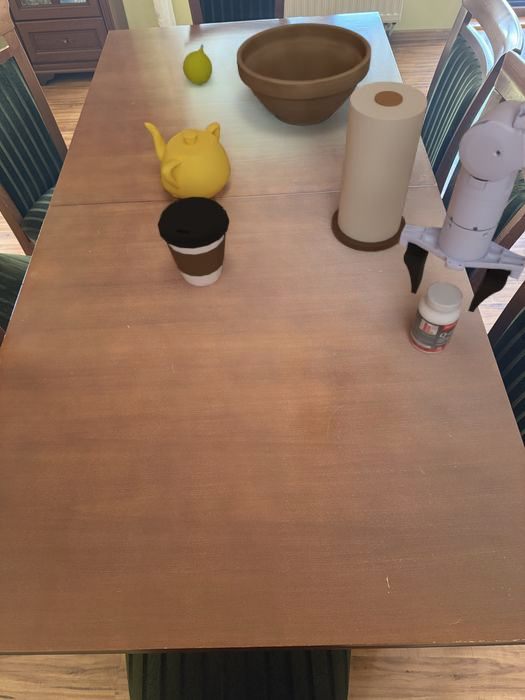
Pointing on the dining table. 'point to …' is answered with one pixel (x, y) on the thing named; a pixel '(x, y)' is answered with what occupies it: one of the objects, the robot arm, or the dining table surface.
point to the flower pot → (303, 69)
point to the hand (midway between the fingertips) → (443, 297)
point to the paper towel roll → (378, 164)
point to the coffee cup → (196, 237)
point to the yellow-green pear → (197, 67)
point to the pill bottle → (436, 317)
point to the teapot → (192, 162)
